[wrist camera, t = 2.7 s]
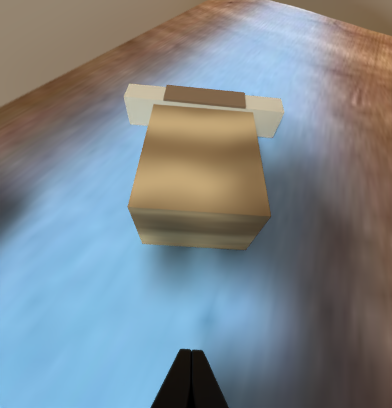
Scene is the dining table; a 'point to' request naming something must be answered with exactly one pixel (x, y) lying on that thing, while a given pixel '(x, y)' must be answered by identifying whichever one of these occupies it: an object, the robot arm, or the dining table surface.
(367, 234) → the dining table surface
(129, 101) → the cream board
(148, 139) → the oak block
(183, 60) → the dining table surface
